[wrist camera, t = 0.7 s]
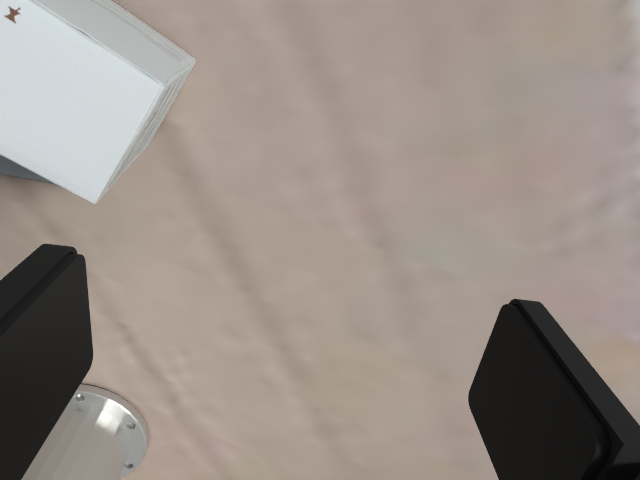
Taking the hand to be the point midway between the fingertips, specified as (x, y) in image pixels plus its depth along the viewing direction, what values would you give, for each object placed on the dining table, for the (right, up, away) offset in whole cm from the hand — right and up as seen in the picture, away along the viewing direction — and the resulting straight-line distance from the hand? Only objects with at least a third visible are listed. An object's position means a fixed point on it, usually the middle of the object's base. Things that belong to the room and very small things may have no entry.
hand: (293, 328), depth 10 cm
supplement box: (-13, +14, +22) cm, 29 cm away
